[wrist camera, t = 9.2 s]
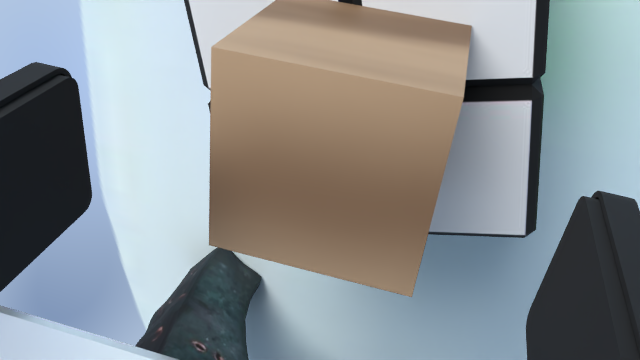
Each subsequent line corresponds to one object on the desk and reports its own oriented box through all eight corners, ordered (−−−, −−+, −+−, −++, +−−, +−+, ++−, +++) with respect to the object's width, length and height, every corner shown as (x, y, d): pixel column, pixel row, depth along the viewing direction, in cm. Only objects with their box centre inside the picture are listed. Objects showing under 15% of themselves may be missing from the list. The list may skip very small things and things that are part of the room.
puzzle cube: (275, -104, 24) (159, -76, 16) (532, -140, 21) (559, -127, 13) (308, 119, 29) (233, 232, 20) (522, 114, 26) (537, 244, 18)
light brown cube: (286, -8, 16) (211, 46, 11) (471, 25, 15) (463, 97, 11) (273, 153, 18) (209, 245, 14) (430, 188, 18) (411, 297, 13)
